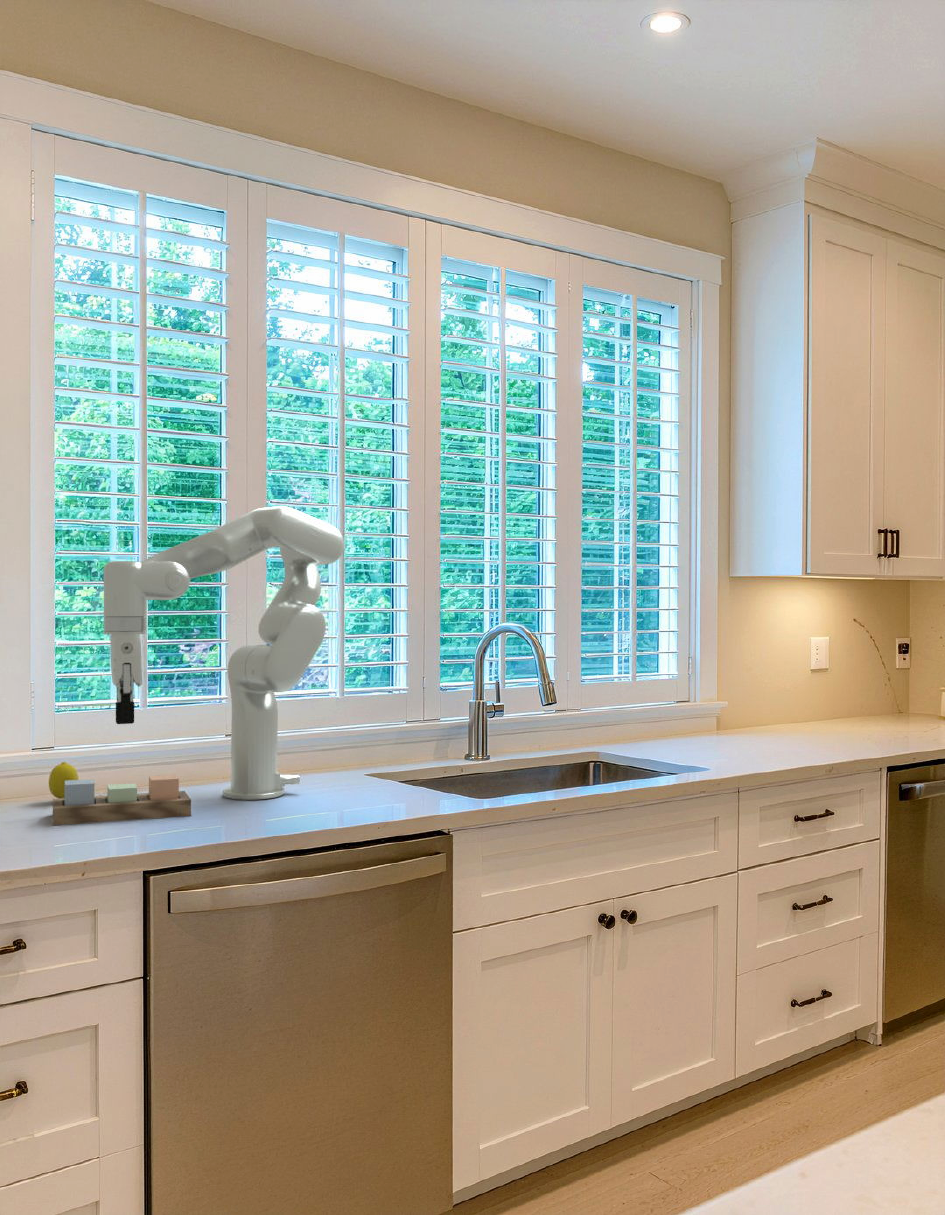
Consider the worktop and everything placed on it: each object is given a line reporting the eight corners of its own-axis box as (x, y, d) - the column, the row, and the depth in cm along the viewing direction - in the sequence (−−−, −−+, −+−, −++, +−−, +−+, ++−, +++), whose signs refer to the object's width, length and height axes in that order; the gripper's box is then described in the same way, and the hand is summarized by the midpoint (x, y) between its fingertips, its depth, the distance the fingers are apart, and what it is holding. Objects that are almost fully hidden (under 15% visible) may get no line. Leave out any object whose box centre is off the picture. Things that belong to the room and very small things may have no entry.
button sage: (134, 809, 189) (135, 783, 189) (136, 814, 184) (137, 787, 184) (107, 811, 187) (107, 785, 187) (108, 816, 182) (108, 789, 182)
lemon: (69, 798, 202) (69, 759, 202) (83, 801, 199) (83, 761, 199) (43, 801, 198) (43, 762, 198) (57, 805, 194) (57, 765, 194)
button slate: (93, 805, 186) (93, 779, 186) (94, 810, 181) (94, 783, 181) (64, 807, 184) (64, 780, 184) (64, 812, 179) (65, 785, 179)
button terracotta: (175, 800, 192) (175, 774, 192) (178, 805, 187) (178, 778, 187) (148, 802, 190) (148, 776, 190) (151, 806, 185) (151, 780, 185)
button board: (184, 806, 195) (184, 790, 195) (190, 815, 186) (191, 799, 186) (52, 814, 185) (52, 798, 185) (52, 825, 176) (53, 808, 176)
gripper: (149, 627, 181) (149, 727, 181) (142, 625, 195) (142, 718, 195) (106, 627, 178) (106, 729, 178) (101, 625, 192) (101, 720, 192)
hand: (125, 723), depth 186 cm, fingers closed
